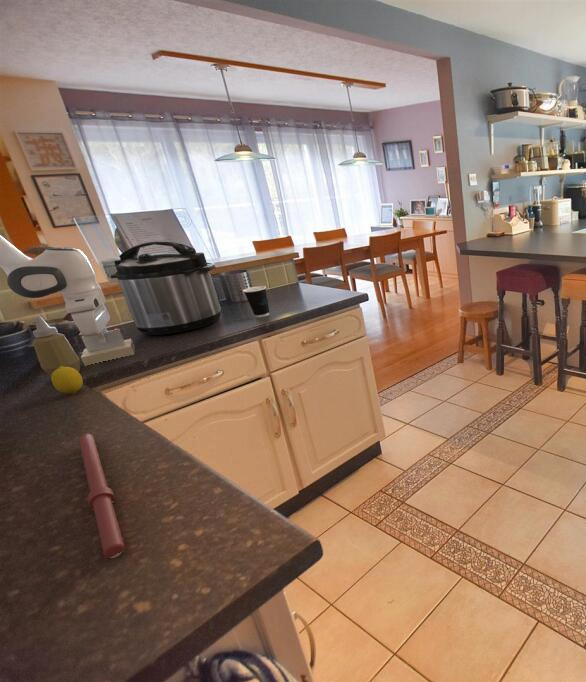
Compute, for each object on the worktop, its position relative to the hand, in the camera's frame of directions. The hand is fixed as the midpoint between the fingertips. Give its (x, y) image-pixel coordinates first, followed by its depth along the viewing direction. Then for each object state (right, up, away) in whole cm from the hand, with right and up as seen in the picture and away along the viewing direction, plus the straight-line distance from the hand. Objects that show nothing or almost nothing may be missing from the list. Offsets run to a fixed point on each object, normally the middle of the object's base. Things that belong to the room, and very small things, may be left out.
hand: (104, 341), depth 139 cm
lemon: (+14, -14, -23) cm, 30 cm away
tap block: (0, -5, +2) cm, 5 cm away
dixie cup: (+31, +10, +34) cm, 47 cm away
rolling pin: (+58, -27, -62) cm, 89 cm away
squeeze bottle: (-1, -10, -10) cm, 14 cm away
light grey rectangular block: (0, -2, +1) cm, 2 cm away
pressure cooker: (+4, +6, +29) cm, 30 cm away
